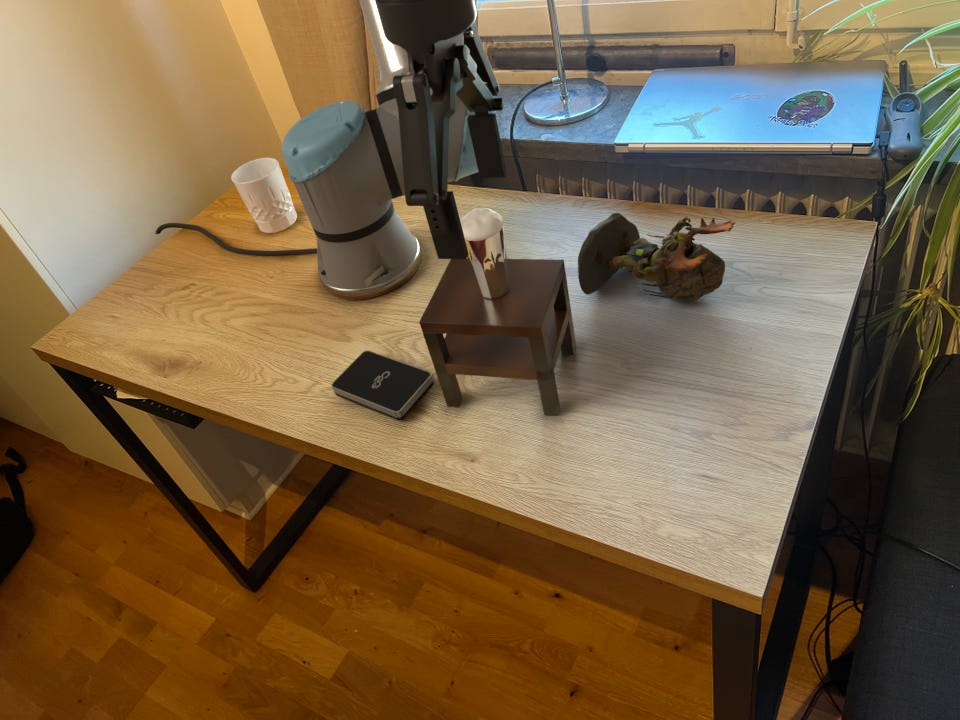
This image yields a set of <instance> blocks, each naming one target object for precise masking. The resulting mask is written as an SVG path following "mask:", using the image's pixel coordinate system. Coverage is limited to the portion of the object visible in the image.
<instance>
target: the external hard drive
mask: <svg viewBox="0 0 960 720" xmlns="http://www.w3.org/2000/svg"><path fill="white" fill-rule="evenodd" d="M434 385H435V380H434V377H433V374H432V372H431V371H430V370H426V369H424V368H421V367H418V366H415V365H412V364H410V363H407V362H403V361H400V360H397V359H396V358H392V357H389V356H386V355H383V354H380V353H379V352H378V353H377V352H375V351H373V350H367V349H366V350H363V351H362V352H361V353H360V354H359V355H358V356H357V357H356V358H355V359H354V360H353V361H352V362H351V363H350V364H349V365H348V366H347V367H346V368H345V369H344V370H343V371H342V372H341V373H340V374H339V376H338V377H336V378H335V380H334V381H333V382H332V383H331V385H330V386H331V389H332V391H333V393H334V395H335V396H336V397H339V398H342V399H344V400H346V401H349V402H351V403H354V404H357V405H359V406H361V407H364V408H366V409H369V410H371V411H373V412H376V413H379V414H382V415H383V416H385V417H389V418H391V419H393V420H396V421H399V422H400V421H403V420H405V419H406V417H408V415H409V414H410V413H411V412H412V410H414V408H415V407H416V406H417V405H418V404H419V403H420V402H421V400H423V398H424V397H425V396H426V394H427V393H428V392H429V391H430V390H431V389H432V388H433V386H434Z"/></svg>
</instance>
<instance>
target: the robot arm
mask: <svg viewBox="0 0 960 720" xmlns="http://www.w3.org/2000/svg"><path fill="white" fill-rule="evenodd" d="M358 1H359V4H360V8H361V12H362V15H363V18H364V21H365V24H366V28H367V31H368V34H369V37H370V41H371V44H372V47H373V50H374V55H375V57H376V60H377V64H378V67H379V70H380V73H381V80H380V82H379V84H378V86H377V89H376V90H375V92H374V94H375V97H376V100H377V103H378V107H377V108H374V109H371V110H368V111H365V109H364V108H363V107H362V106H361V104H359V103H358V102H356V101H353V100H345V101H336V102H331V103H329V104H326V105H323V106H321V107H319V108H317V109H315V110H312V111H311V112H309V113H307V114H306V115H304V116H303V117H302V118H300V119H299V120H298V121H297V122H295V123H294V124H293V125H292V126H291V127H290V129H288V131H287V132H286V134H285V135H284V138H283V140H282V144H281V153H282V157H283V159H284V162H285V164H286V167H287V170H288V177H289V179H290V180H291V181H292V182H293V185H294V187H295V189H296V192H297V194H298V196H299V199H300V201H301V203H302V206H303V208H304V211H305V214H306V215H307V218H308V220H309V223H310V226H311V227H312V230H313V232H314V234H315V237H316V247H314V248H302V249H284V250H283V249H281V250H257V249H245V248H244V249H243V248H238V247H234V246H231V245H228V244H226V243H225V242H223V241H222V240H221V239H220V238H218V237H217V236H216V235H214V234H213V233H211V232H209V231H208V230H206V229H205V228H204V227H201V226H199V225H196V224H189V223H180V222H167V223H163V224H161V225H159V226H157V228H156V230H155V232H154V234H155V235H160V234H161V233H162V231H164V230H165V229H186V230H193V231H197V232H199V233H201V234H202V235H204V236H205V237H207V238H209V239H210V240H212V241H213V242H214V243H216V244H217V245H218V247H220V248H221V249H224V250H226V251H228V252H229V253H230V252H231V253H234V254H238V255H245V256H258V257H259V256H260V257H279V256H280V257H281V256H282V257H283V256H284V257H285V256H302V255H317V274H318V277H319V279H320V281H321V283H322V285H323V288H324V289H325V290H326V292H327V293H329V294H330V295H331V296H333V297H336V298H338V299H343V300H351V301H352V300H353V301H354V300H365V299H366V300H367V299H371V298H376V297H378V296H382V295H384V294H387V293H389V292H391V291H394V290H396V289H397V288H399V287H401V286H402V285H403V284H405V283H407V282H408V280H410V279H411V278H412V277H413V276H414V275H415V274H416V272H417V271H418V269H419V267H420V265H421V263H422V258H423V256H422V255H423V254H422V251H421V248H420V247H421V246H420V244H419V241H418V239H417V237H416V236H415V235H414V234H413V232H412V231H410V228H408V226H407V225H406V223H405V222H404V220H403V219H402V217H401V216H400V215H399V213H397V211H396V209H395V207H394V204H393V200H394V199H397V198H401V197H404V199H405V204H406V206H408V207H423V211H424V214H425V217H426V221H427V224H428V229H429V232H430V235H431V238H432V242H433V245H434V249H435V253H436V256H437V259H438V260H451V259H467V256H468V250H467V246H466V242H465V238H464V234H463V230H462V226H461V222H460V220H461V218H460V214H459V211H458V210H459V209H458V206H457V203H456V199H455V194H454V191H453V190H448V184H449V183H451V182H458V181H459V180H460V179H462V178H466V177H469V176H471V175H475V174H476V173H478V177H479V179H497V178H498V179H499V178H501V179H502V178H506V176H507V173H508V172H507V168H506V163H505V156H504V152H503V146H502V142H501V135H500V130H499V125H498V121H497V115H496V113H494V112H502V111H504V99H503V97H499V96H500V92H501V87H500V84H499V82H498V79H497V77H496V74H495V72H494V68H493V67H492V65H491V62H490V59H489V57H488V55H487V51H486V50H485V47H484V44H483V41H482V40H481V37H480V35H479V33H478V27H477V24H476V18H477V8H476V2H475V0H358Z"/></svg>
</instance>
